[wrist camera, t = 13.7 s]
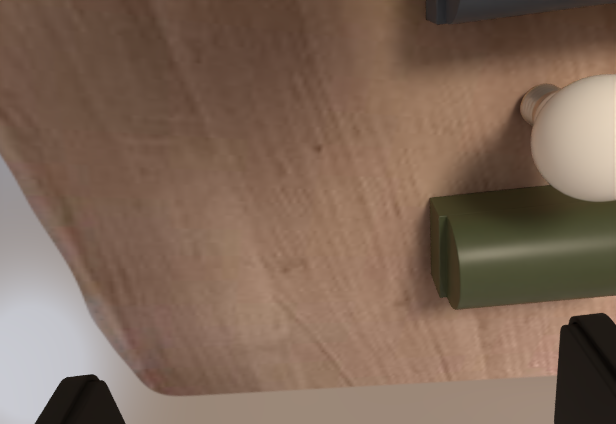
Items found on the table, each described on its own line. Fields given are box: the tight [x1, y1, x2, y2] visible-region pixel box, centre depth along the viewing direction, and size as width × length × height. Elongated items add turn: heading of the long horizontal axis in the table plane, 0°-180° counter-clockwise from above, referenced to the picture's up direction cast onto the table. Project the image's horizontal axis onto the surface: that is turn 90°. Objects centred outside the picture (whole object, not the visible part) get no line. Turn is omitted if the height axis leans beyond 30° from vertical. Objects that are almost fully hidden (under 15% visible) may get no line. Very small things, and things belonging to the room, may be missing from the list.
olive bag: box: [430, 185, 616, 310], centre depth 33 cm, size 7×15×7 cm, turn 97°
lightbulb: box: [520, 74, 616, 202], centre depth 27 cm, size 6×6×11 cm
